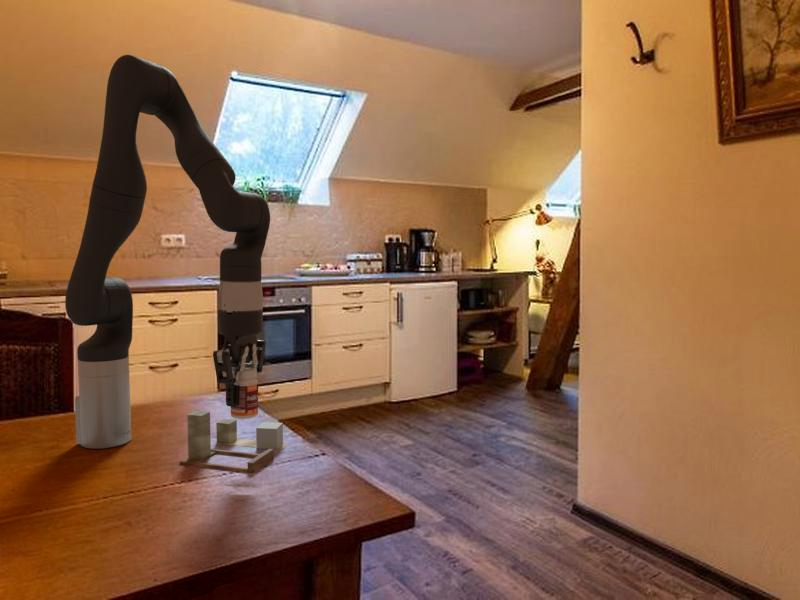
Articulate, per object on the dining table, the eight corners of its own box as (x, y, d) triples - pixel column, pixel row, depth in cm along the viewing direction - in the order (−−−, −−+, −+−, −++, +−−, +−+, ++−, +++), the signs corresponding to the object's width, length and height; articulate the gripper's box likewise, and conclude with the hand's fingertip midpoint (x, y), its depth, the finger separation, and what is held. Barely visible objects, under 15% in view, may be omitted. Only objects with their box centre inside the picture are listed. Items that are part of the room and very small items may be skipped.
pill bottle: (251, 420, 104) (251, 372, 104) (225, 418, 105) (225, 370, 104) (262, 413, 109) (262, 367, 108) (238, 411, 110) (238, 365, 109)
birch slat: (214, 447, 119) (213, 423, 118) (224, 442, 122) (223, 418, 122) (281, 455, 115) (280, 429, 114) (289, 449, 118) (289, 424, 118)
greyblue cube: (256, 448, 116) (256, 428, 115) (263, 441, 120) (263, 422, 119) (276, 449, 115) (276, 428, 115) (283, 442, 119) (282, 422, 119)
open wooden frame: (179, 467, 107) (178, 418, 106) (204, 454, 114) (203, 407, 114) (252, 476, 103) (252, 425, 102) (273, 461, 110) (273, 413, 110)
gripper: (243, 302, 113) (243, 391, 115) (197, 309, 100) (198, 410, 101) (279, 304, 111) (278, 395, 113) (238, 312, 98) (238, 415, 99)
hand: (240, 401), depth 107 cm, fingers closed on pill bottle, 4 cm apart
